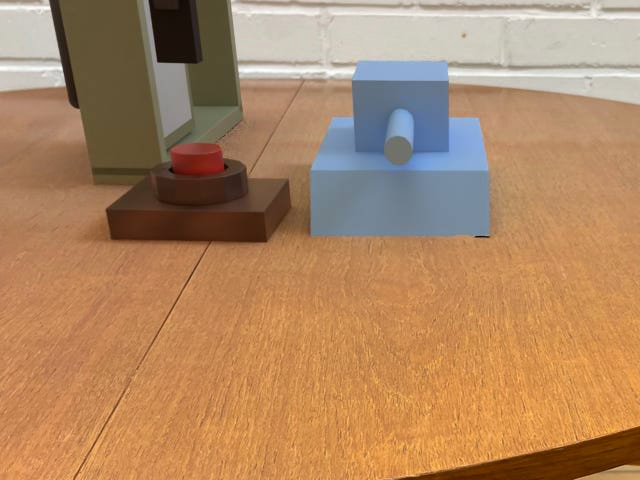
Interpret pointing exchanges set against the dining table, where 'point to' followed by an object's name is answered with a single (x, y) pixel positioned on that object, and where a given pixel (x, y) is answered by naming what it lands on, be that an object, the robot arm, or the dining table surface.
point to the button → (197, 159)
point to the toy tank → (400, 159)
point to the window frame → (147, 85)
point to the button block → (200, 206)
